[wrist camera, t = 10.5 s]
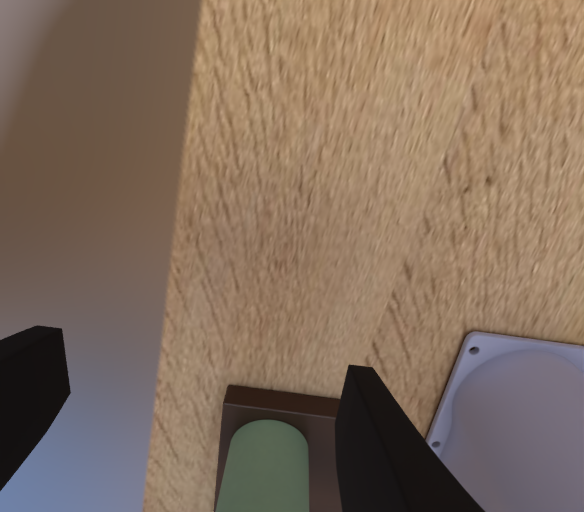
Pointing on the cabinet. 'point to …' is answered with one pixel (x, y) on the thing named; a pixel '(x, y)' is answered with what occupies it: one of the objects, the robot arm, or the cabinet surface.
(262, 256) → the cabinet surface
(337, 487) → the walnut board
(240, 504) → the sanitizer bottle
